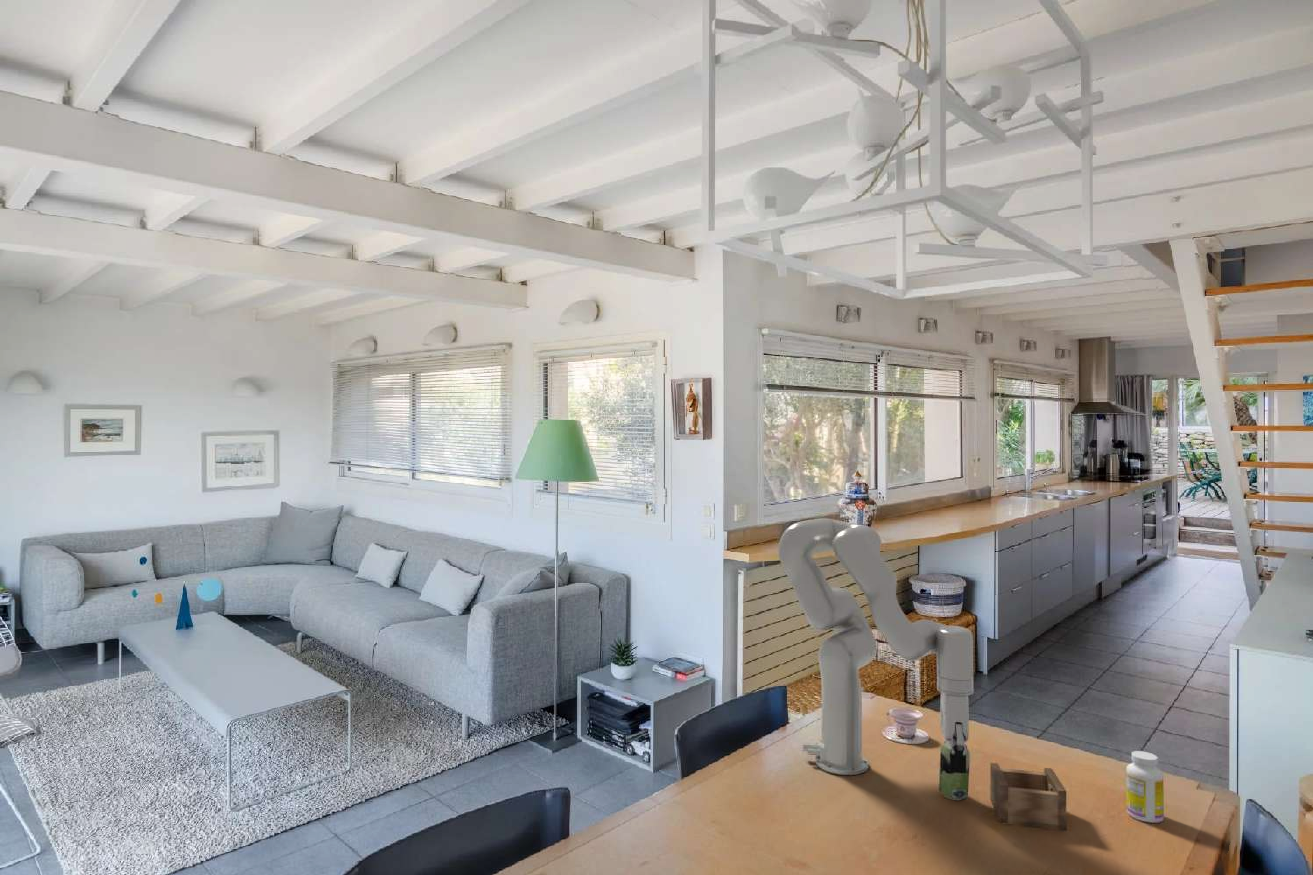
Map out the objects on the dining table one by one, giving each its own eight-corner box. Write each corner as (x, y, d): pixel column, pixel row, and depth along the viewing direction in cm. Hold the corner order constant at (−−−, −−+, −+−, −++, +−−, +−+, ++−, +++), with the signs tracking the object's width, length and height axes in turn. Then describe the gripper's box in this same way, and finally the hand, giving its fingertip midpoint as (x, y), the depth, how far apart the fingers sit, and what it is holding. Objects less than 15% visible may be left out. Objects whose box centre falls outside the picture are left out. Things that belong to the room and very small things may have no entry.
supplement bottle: (1158, 811, 165) (1158, 751, 165) (1167, 826, 158) (1168, 763, 158) (1122, 806, 167) (1122, 747, 167) (1130, 820, 161) (1130, 759, 161)
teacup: (931, 731, 209) (931, 709, 209) (927, 748, 198) (927, 724, 198) (885, 724, 214) (885, 702, 214) (879, 740, 203) (879, 716, 203)
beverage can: (963, 791, 174) (964, 737, 174) (973, 805, 167) (975, 749, 167) (934, 789, 174) (936, 735, 175) (943, 803, 167) (945, 746, 168)
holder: (1000, 823, 159) (1000, 784, 159) (990, 798, 170) (990, 762, 170) (1066, 830, 157) (1066, 790, 157) (1051, 805, 167) (1051, 768, 167)
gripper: (932, 671, 180) (933, 749, 179) (942, 695, 163) (942, 780, 163) (967, 673, 178) (967, 751, 178) (980, 697, 161) (980, 784, 161)
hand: (955, 764), depth 170 cm, fingers closed on beverage can, 6 cm apart
